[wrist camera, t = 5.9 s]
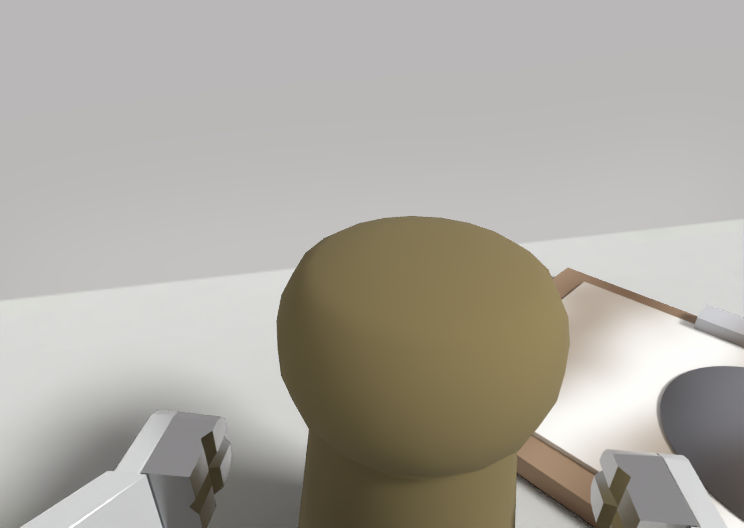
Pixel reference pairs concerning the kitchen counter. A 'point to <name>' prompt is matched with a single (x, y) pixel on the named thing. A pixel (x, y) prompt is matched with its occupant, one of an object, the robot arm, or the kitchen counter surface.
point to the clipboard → (642, 395)
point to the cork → (418, 372)
